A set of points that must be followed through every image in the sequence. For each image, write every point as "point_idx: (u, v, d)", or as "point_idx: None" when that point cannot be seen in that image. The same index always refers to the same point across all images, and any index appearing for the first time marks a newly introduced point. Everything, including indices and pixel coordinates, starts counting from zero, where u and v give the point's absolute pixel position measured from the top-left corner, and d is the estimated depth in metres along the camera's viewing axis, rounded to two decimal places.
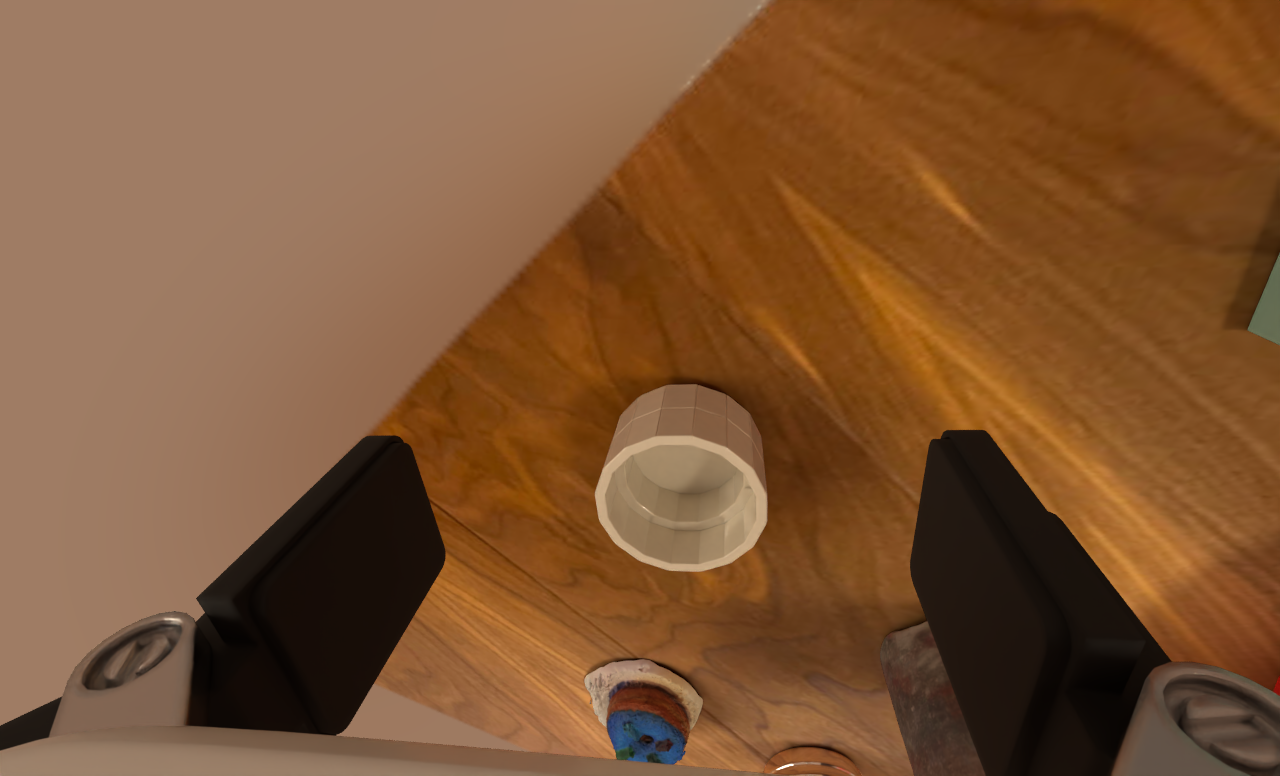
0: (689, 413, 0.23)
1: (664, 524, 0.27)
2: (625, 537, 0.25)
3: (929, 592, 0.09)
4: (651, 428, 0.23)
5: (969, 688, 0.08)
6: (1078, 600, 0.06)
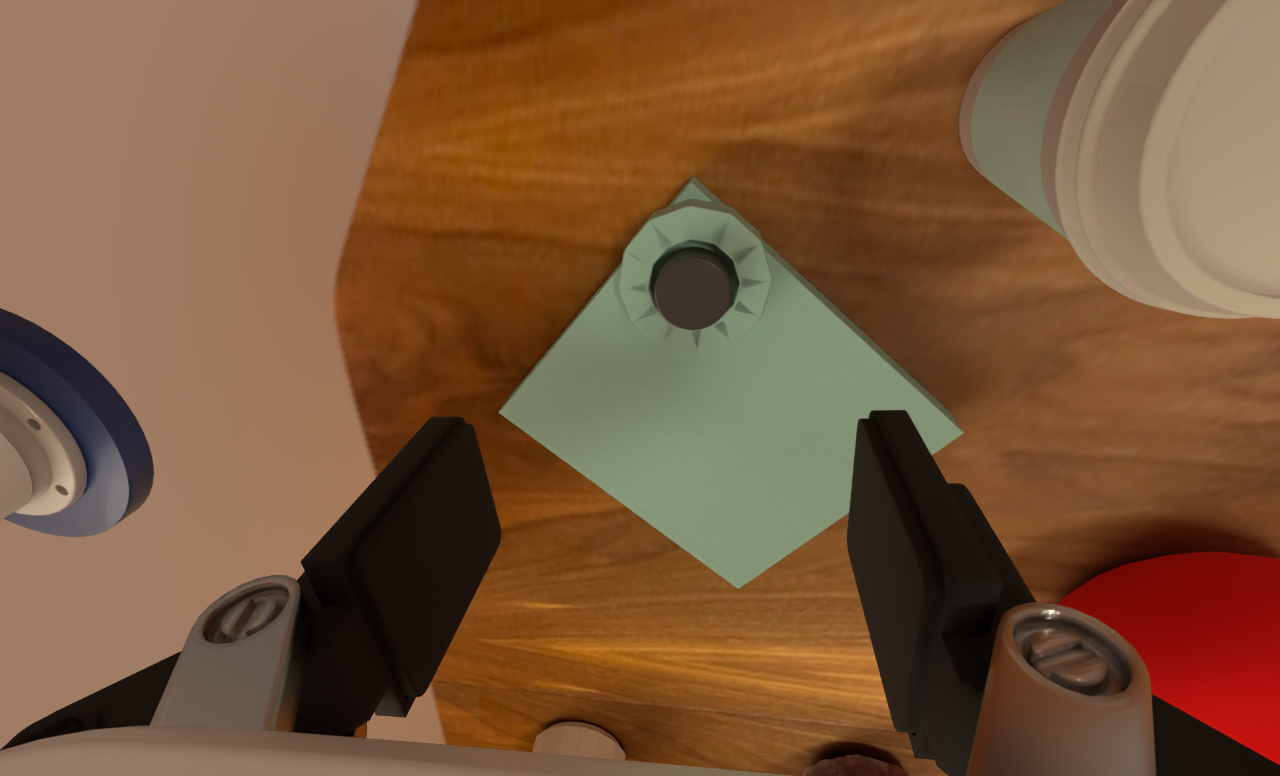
0: None
1: None
2: None
3: (858, 561, 0.10)
4: None
5: (882, 643, 0.08)
6: (954, 552, 0.06)
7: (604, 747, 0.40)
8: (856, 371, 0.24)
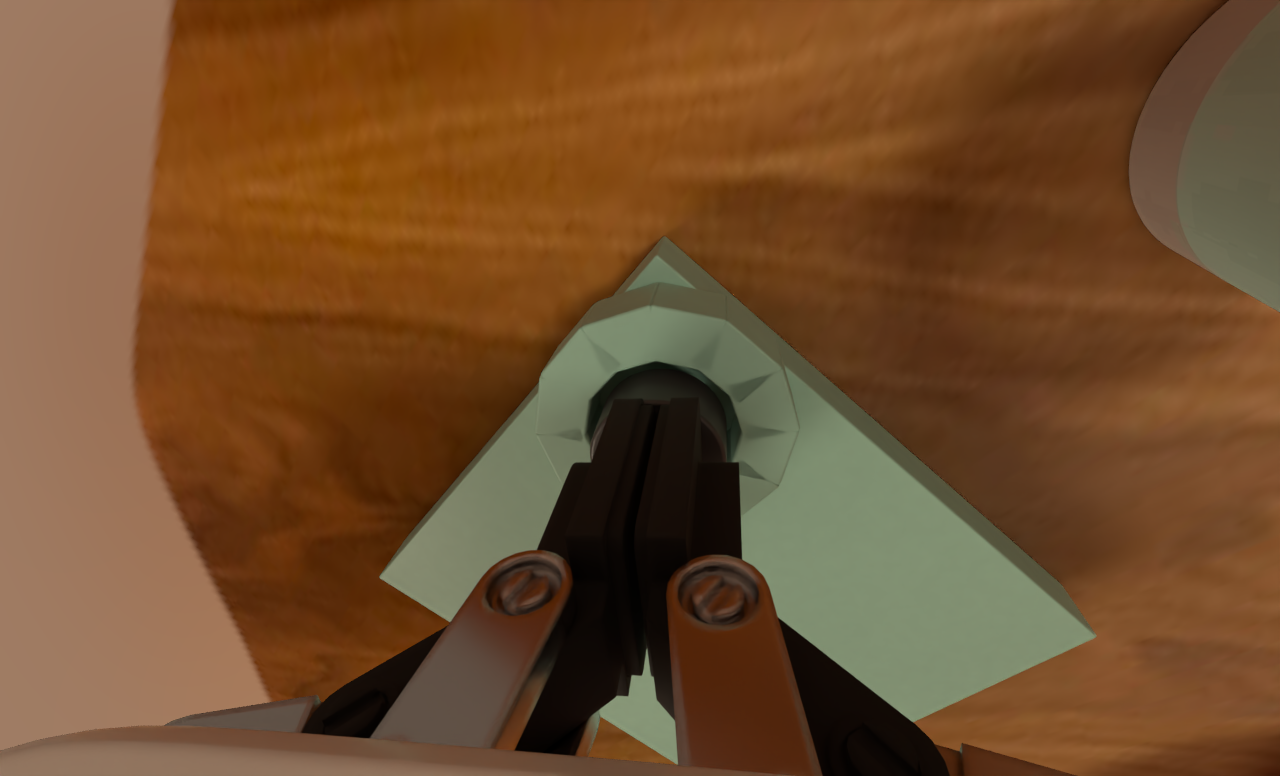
0: None
1: None
2: None
3: None
4: None
5: None
6: (661, 513, 0.07)
7: None
8: (929, 546, 0.15)
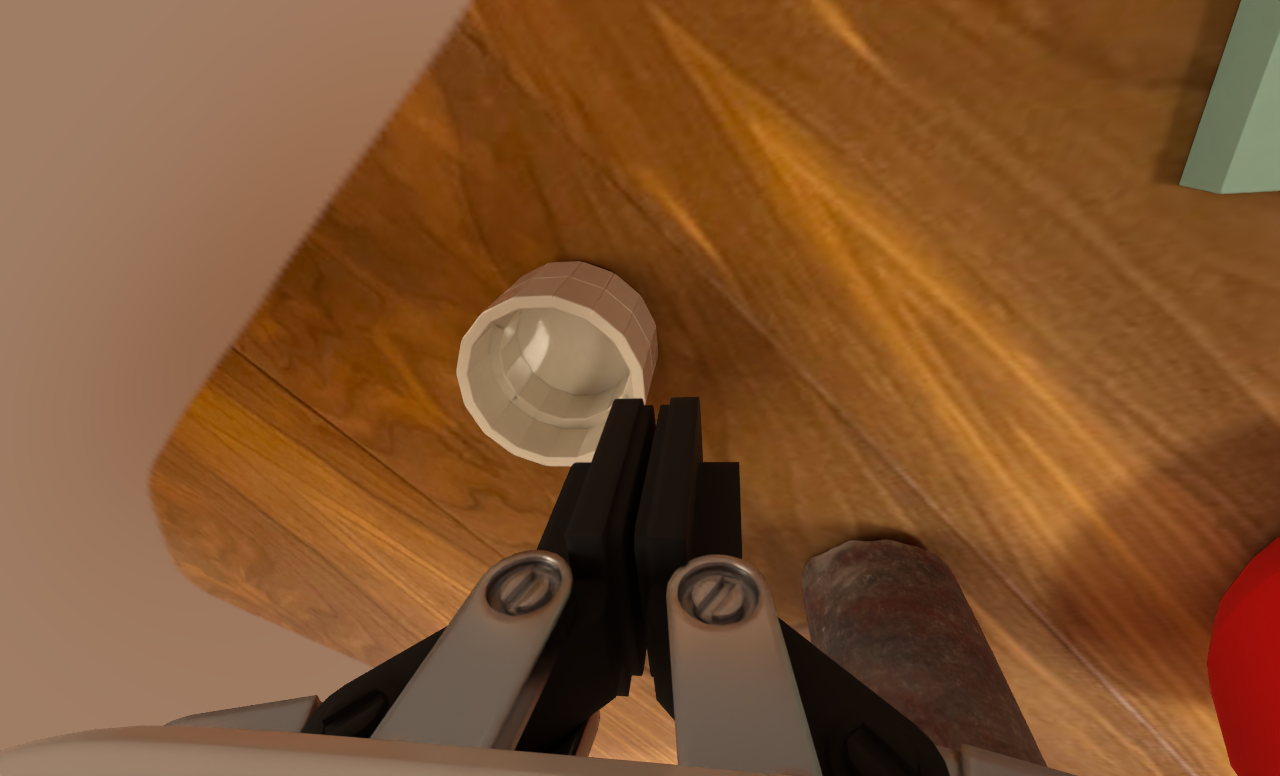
0: (560, 280, 0.21)
1: (549, 422, 0.24)
2: (497, 427, 0.22)
3: None
4: (514, 293, 0.20)
5: None
6: (662, 513, 0.07)
7: (654, 343, 0.23)
8: None
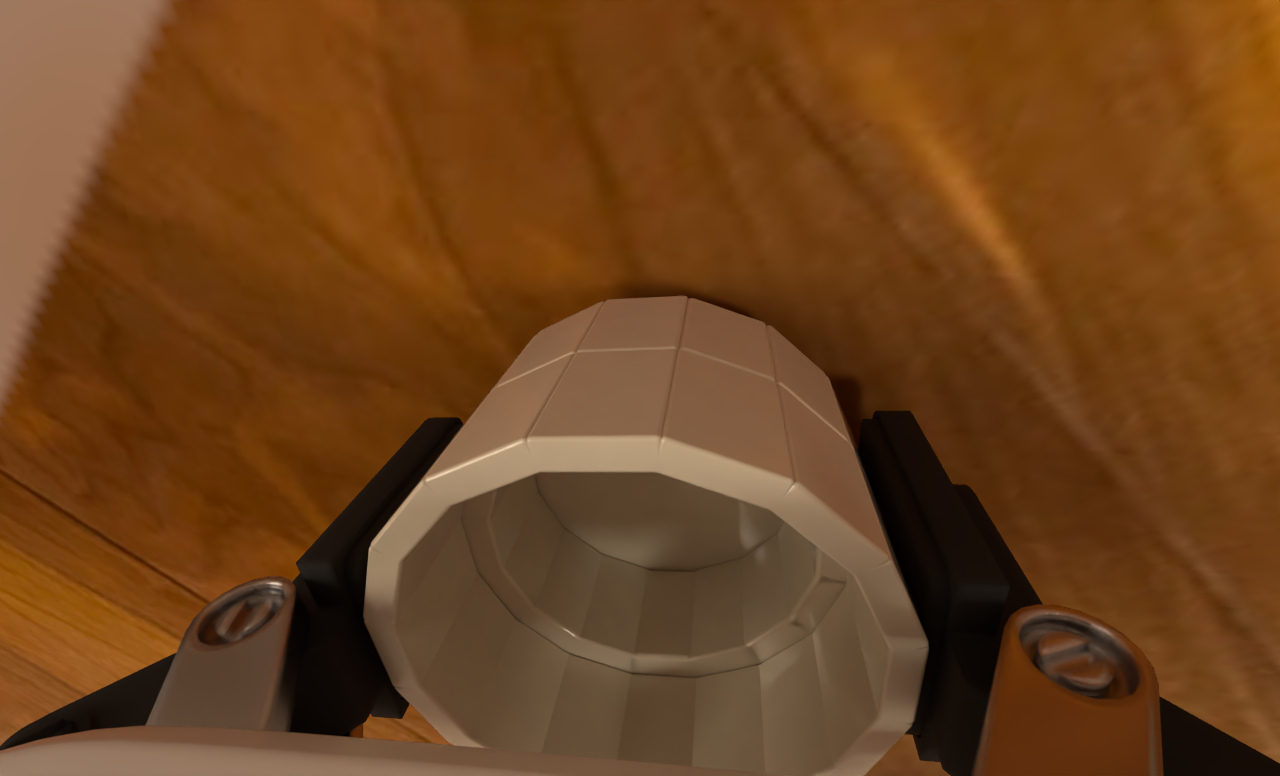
0: (659, 362, 0.07)
1: (605, 660, 0.11)
2: (483, 725, 0.09)
3: None
4: (524, 411, 0.07)
5: None
6: (959, 553, 0.06)
7: None
8: None
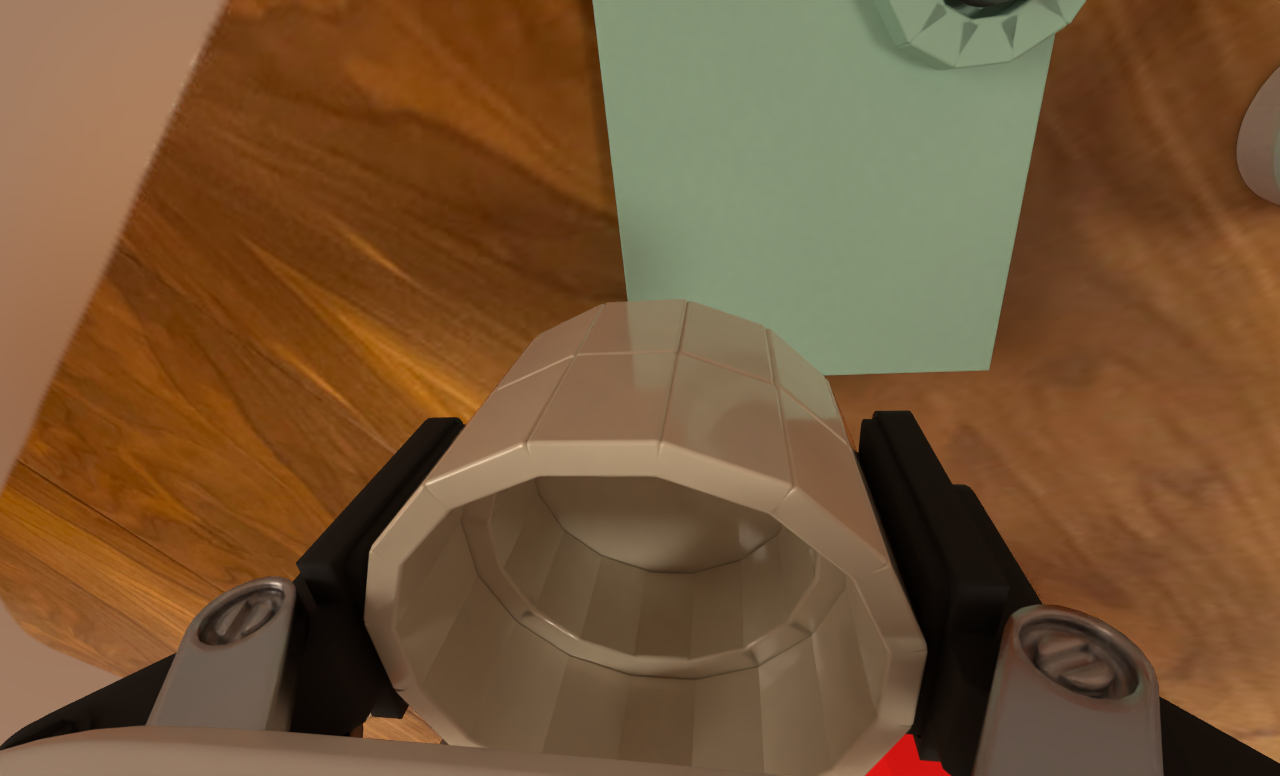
0: (658, 366, 0.07)
1: (606, 662, 0.11)
2: (483, 726, 0.09)
3: None
4: (524, 415, 0.07)
5: None
6: (959, 553, 0.06)
7: None
8: (982, 227, 0.20)
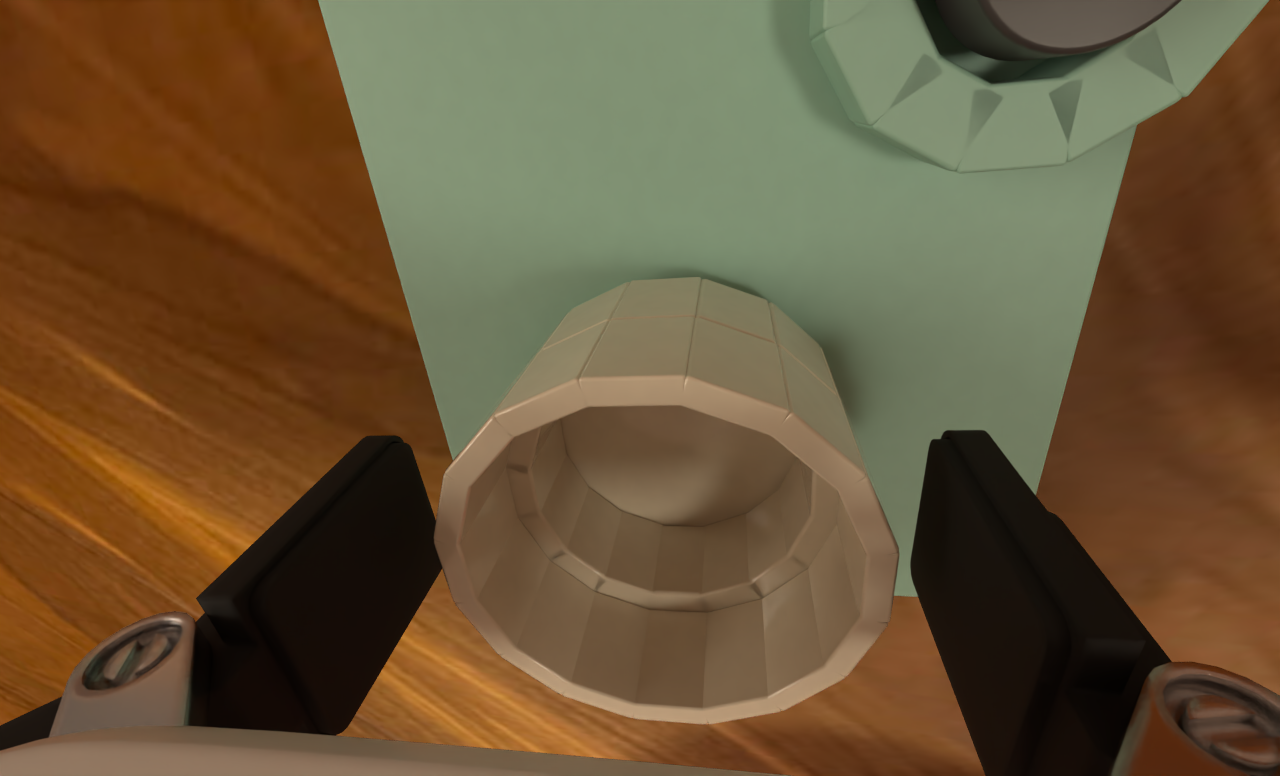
0: (680, 325, 0.09)
1: (627, 597, 0.12)
2: (527, 640, 0.10)
3: (929, 592, 0.09)
4: (572, 362, 0.08)
5: (969, 688, 0.08)
6: (1079, 600, 0.06)
7: None
8: (1001, 408, 0.12)
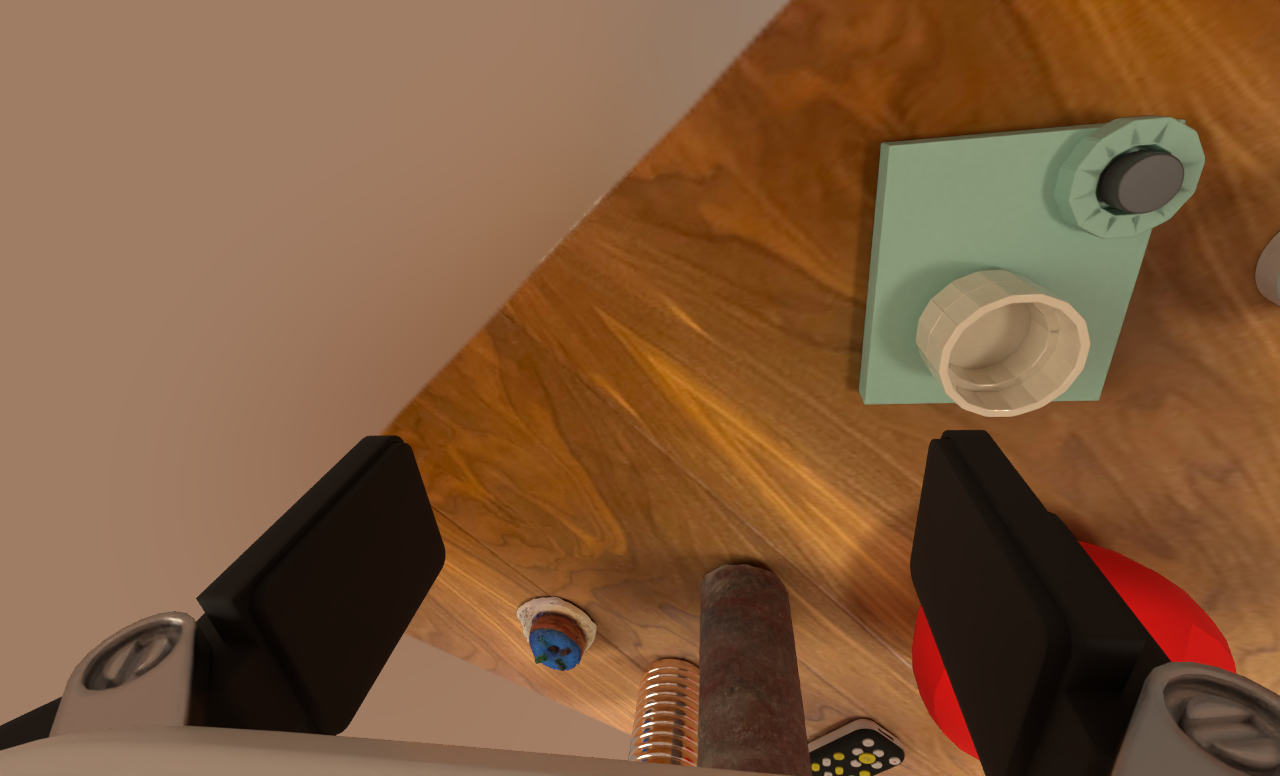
0: (1022, 283, 0.30)
1: (966, 387, 0.33)
2: (954, 388, 0.31)
3: (929, 592, 0.09)
4: (998, 293, 0.29)
5: (969, 688, 0.08)
6: (1078, 600, 0.06)
7: None
8: (1103, 317, 0.33)
